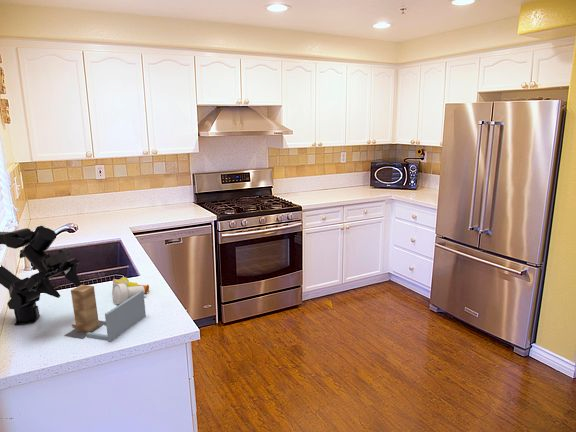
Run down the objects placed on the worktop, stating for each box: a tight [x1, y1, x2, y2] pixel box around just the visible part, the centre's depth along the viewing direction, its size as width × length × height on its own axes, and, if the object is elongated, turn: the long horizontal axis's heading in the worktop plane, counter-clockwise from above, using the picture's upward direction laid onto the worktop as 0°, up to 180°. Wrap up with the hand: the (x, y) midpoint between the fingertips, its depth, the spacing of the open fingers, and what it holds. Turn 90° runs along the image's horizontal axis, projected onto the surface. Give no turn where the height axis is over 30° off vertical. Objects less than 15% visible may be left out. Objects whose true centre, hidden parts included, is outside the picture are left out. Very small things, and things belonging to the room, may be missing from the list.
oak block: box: [70, 284, 99, 333], centre depth 142 cm, size 9×5×15 cm, turn 74°
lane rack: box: [86, 291, 147, 343], centre depth 144 cm, size 10×19×10 cm, turn 164°
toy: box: [112, 276, 150, 294], centre depth 176 cm, size 5×15×10 cm
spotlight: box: [111, 283, 146, 305], centre depth 166 cm, size 8×11×8 cm
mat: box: [64, 319, 106, 340], centre depth 144 cm, size 8×12×1 cm, turn 164°
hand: (70, 291), depth 142 cm, fingers open, 9 cm apart
